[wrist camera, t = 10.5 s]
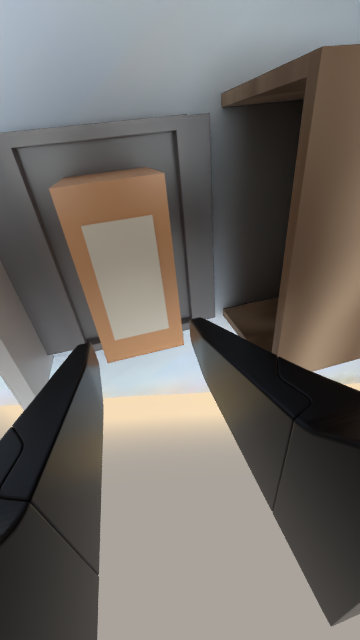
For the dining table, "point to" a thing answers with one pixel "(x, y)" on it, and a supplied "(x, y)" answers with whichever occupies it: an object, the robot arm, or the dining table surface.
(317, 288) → the box
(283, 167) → the dining table surface
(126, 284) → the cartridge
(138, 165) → the tray
